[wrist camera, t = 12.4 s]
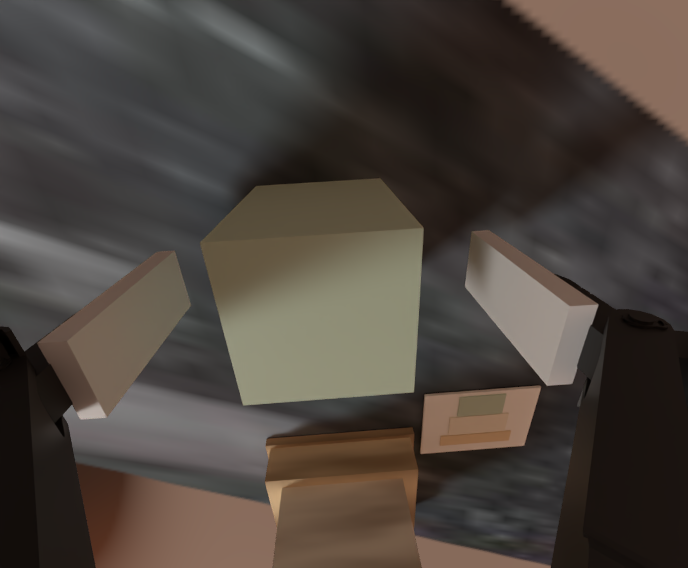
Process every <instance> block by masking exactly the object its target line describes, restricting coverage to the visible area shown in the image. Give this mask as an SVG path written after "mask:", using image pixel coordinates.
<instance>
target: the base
mask: <svg viewBox="0 0 688 568" xmlns="http://www.w3.org/2000/svg"><path fill="white" fill-rule="evenodd" d="M413 448H414V431H413V427H409V428H396V429H383V430H371V431H358V432H345V433H333V434H320V435H307V436H295V437H282V438H269V439H267V441H266V450H267V454H268V458H269V460H268V466H267V472H266V478H265V484H266V488H267V492H268V495H269V499H270V503H271V507H272V510H273V514H274V518H275V522H276V526H277V525H278V517H279V508H280V500H281V491H282V488H288V487H300V486H313V485H325V484H337V483H350V482H362V481H375V480H387V479H399V478H403V482H404V487H405V492H406V496H407V501H408V506H409V510H410V515H411V520H412V525H413V529H414V519H415V507H416V494H417V481H418V466H417V462H416V458H415V454H414V451H413Z"/></svg>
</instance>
